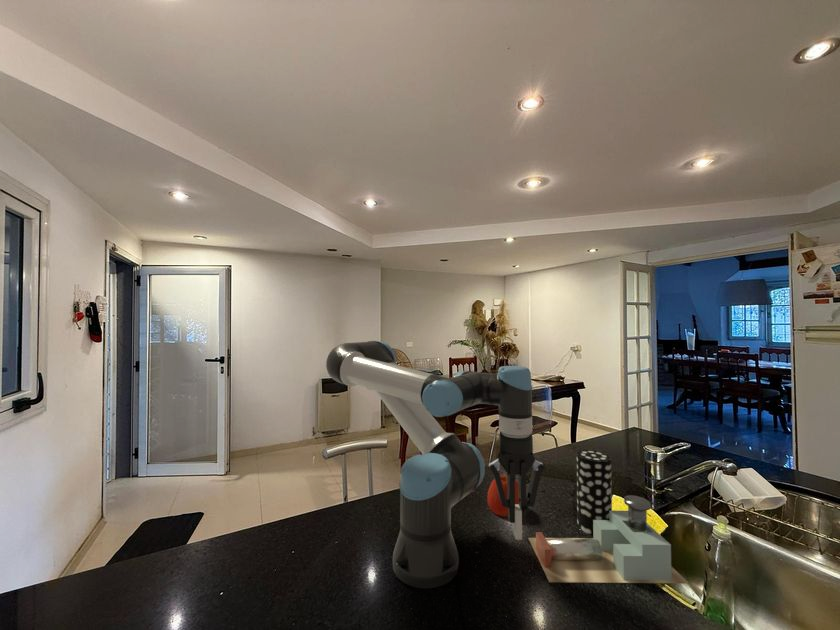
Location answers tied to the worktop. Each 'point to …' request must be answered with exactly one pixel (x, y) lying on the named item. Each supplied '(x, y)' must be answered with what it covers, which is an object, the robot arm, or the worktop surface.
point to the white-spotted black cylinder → (593, 488)
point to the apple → (495, 500)
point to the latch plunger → (637, 512)
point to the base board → (592, 570)
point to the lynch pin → (567, 549)
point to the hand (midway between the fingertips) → (517, 535)
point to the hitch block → (634, 548)
